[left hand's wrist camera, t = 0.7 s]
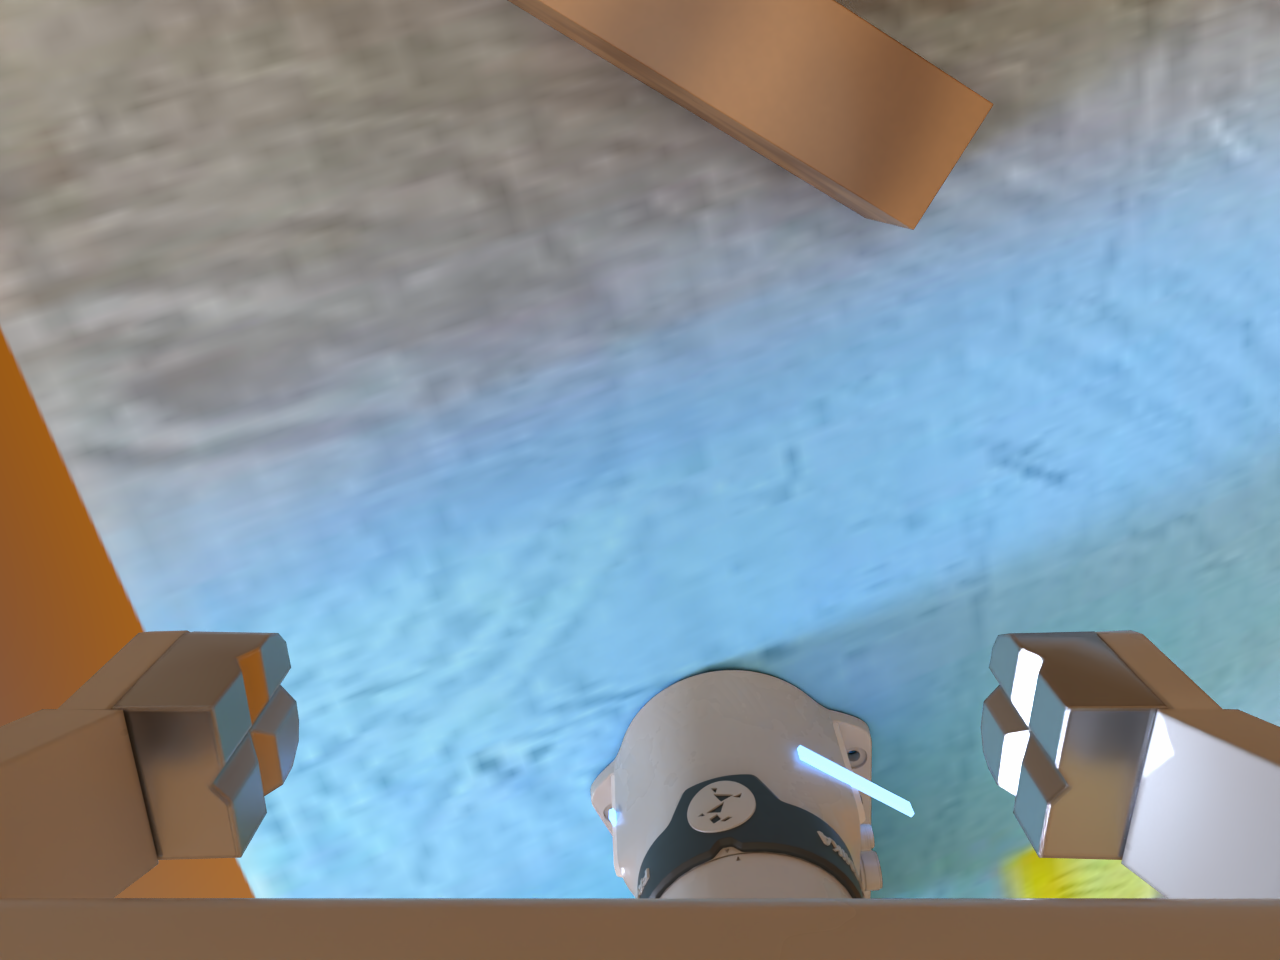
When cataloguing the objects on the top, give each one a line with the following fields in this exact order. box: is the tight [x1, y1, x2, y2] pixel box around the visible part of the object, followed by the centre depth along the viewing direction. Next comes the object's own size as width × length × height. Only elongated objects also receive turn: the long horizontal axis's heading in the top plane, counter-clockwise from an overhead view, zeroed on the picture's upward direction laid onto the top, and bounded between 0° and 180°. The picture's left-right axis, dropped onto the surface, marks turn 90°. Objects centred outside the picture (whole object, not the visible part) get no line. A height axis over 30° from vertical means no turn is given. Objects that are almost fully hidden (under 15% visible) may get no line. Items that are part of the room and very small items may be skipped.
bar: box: [508, 0, 993, 230], centre depth 40 cm, size 28×6×9 cm, turn 61°
